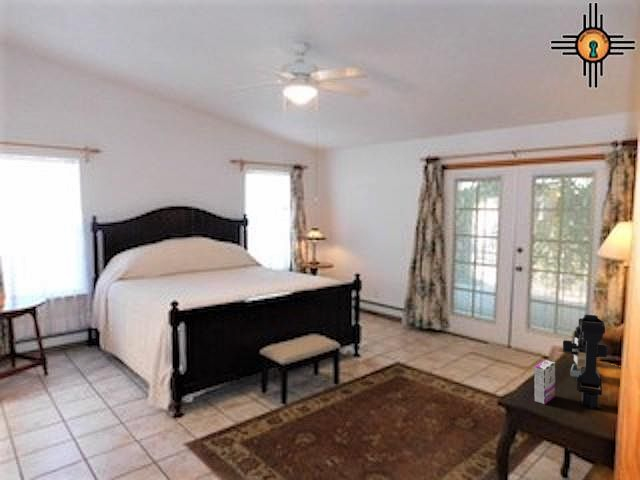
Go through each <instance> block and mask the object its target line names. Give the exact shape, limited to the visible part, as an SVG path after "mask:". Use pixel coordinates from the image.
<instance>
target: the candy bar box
mask: <svg viewBox="0 0 640 480" xmlns="http://www.w3.org/2000/svg"><path fill="white" fill-rule="evenodd" d="M533 370H534V371H533V373H534V377H533V379H534V385H533V387H534V391H533V394H534V402H536V403H539V404H542V405H547V403H549V402H550V401H551V400H553V399H554V398H555V397H556V362H555V361H551V360H548V359H547V360H546V359H543V361H541V362H540V363H538V364H536V365H535V366H534V367H533Z"/></svg>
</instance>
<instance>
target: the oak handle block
mask: <svg viewBox="0 0 640 480" xmlns="http://www.w3.org/2000/svg"><path fill="white" fill-rule="evenodd" d="M585 354H586V353H582V352H579V351H578V359H577V368H578V371H581V367H584V366H585Z"/></svg>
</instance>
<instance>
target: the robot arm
mask: <svg viewBox="0 0 640 480" xmlns="http://www.w3.org/2000/svg"><path fill="white" fill-rule="evenodd" d="M573 334H574V339H575V338H578V346H577V344H575V342H574V343H573V341H572V340H566V339H564V340H563V341H562V352H563V353H564V354H570V355H573V356H574V355H576V356H578V351H579V352H582V353H586V354H585V366H584V367H581V371H580V375H579V376H578V377H576V391H578V392H579V393H581V400H578V401H577V402H578V404H580V405H581V406H582V407H584V408H585V409H588V410H589V409H590V410H591V409H592V410H593V409H602V406H600V405H599V402H598V401H599V396H602V395H603V389H602V386H603V385H602V378H601V377H600V372H599V369H598V368H597V363H598V362H597V361H598V360H597V359H598V358H604V359H606V358H608V356H609V355H608V345H606V344H604V343H600V342H602V340H603V338H604V335H605V334H606V325H605V322H604V321H603V320H602V319H600V318H599V316H598V315H596V314H584V315H583V317H580V318H579V319H578V325H576V327H575V330H574V333H573Z"/></svg>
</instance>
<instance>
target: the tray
mask: <svg viewBox="0 0 640 480" xmlns="http://www.w3.org/2000/svg"><path fill="white" fill-rule="evenodd" d="M569 375H570V377H573V378H577V377H578V376H579V375H580V371H578V368H577V364H576V363H572V365H571V368H570V371H569Z"/></svg>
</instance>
